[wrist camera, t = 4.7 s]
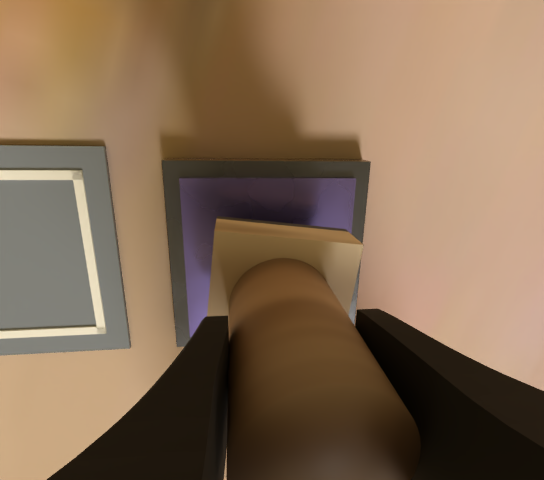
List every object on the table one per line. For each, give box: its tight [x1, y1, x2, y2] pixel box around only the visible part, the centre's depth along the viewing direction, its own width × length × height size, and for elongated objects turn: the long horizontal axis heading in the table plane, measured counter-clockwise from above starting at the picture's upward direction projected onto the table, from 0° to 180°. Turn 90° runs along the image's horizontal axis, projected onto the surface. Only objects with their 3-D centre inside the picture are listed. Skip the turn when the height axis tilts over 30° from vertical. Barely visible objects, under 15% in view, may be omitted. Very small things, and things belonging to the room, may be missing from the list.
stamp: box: [207, 216, 421, 480], centre depth 10 cm, size 5×5×8 cm
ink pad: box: [162, 159, 371, 347], centre depth 16 cm, size 9×9×1 cm
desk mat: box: [0, 145, 131, 355], centre depth 15 cm, size 10×10×1 cm
